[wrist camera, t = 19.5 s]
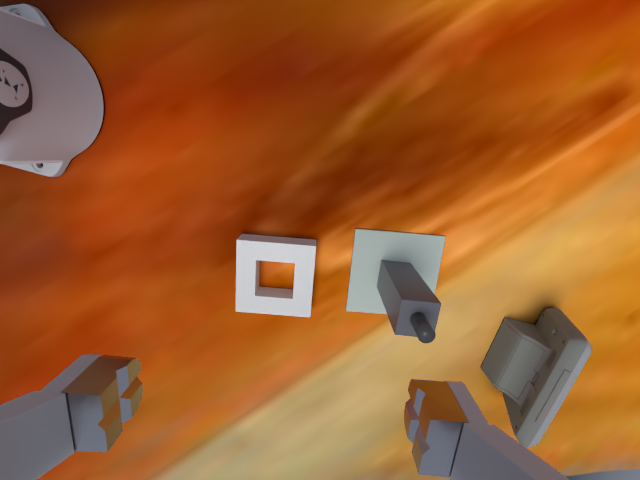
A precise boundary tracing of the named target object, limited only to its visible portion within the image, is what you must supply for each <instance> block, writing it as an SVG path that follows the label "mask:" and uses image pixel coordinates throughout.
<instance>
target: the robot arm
mask: <svg viewBox="0 0 640 480" xmlns="http://www.w3.org/2000/svg"><path fill="white" fill-rule="evenodd" d="M103 112H104V105H103V96H102V91H101V88H100V85H99V82H98V79H97V77H96V75H95V73H94V71H93V69H92V67H91V66H90V64H89V63H88V61H87V60H86V59H85V58H84V56H83V55H82V54H81V53H80V52H79V51H78V50H77V49H76V48H75V47H74V46H73V45H71V44H70V43H69V42H68V41H66V40H65V39H64V38H62V37H61V36H60V35H59V34H58V33H57V32H56V31H55V30H54V29H53V27H52V26H51V24H50V23H49V21H48V20H47V18H46V17H45V15H44V14H43V13H42V12H41V11H40V10H39V9H38V8H36V7H34V6H31V5H28V4H17V5H10V6H3V7H0V164H4V165H8V166H11V167H15V168H19V169H22V170H26V171H30V172H33V173H37V174H41V175H44V176H49V177H58V176H60V175H62V174H63V173H64V171H65V170H66V168H67V166H68V164H69V162H70V161H71V159H72V158H74V157H75V156H76V155H78V154H79V153H81V152H82V151H84V150H85V149H87V148H88V147H89V146H90V145H91V144H92V142H93V141H94V140H95V138H96V136H97V135H98V133H99V130H100V128H101V124H102V120H103ZM41 163H43V167H42V166H41ZM140 371H141V364H140V360H138V359H137V358H130V357H120V356H109V355H97V354H84V355H81V356H80V357H79V358H78V359H77V360H76V361H74V362H73V363H72V364H71V365H70V366H69V367H67V368H66V369H65V370H64V371H63V372H62V373H60V374H59V375H58V376H57V377H56V378H55V379H53V380H52V381H51V382H50V383H49V384H48V385H46V386H45V387H44V388H43V389H42V390H41V391H33V392H30V393H28V394H26V395H23V396H21V397H18V398H16V399H14V400H11V401H9V402H6V403H4V404H2V405H0V480H36V479H38V478H39V477H41V476H42V475H43V474H45V473H46V472H48V471H49V470H51V469H52V468H53V467H55V466H56V465H58V464H59V463H60V462H62V461H63V460H65V459H66V458H68V457H69V456H70V455H72V454H73V453H74V451H94V452H108V451H109V449H110V448H111V447H112V445H113V444H114V442H115V441H116V440H117V438H118V437H119V435H120V434H121V432H122V431H123V430H122V423H124V422H126V421H127V420H129V419H131V418H132V417H133V415H134V414H135V412H136V411H137V409H138V407H139V404H140V402H141V399H142V392H143V386H142V382H141V381H140V380H139V379H138V377H137V375H138V374H139V373H140ZM408 392H409V395H410V399H409V400H408V401H407V402H406V404H405V411H404V423H405V429H406V433H407V437H408V439H409V440H410V441H411V442H412V443H413V448H412V454H413V457H414V461H415V464H416V467H417V471H418V474H421V475H431V476H440V477H450V480H569V479H568V478H567V477H565V476H564V475H563V474H561V473H560V472H558V471H557V470H556V469H554V468H553V467H551V466H550V465H549V464H547V463H546V462H545V461H543V460H542V459H540V458H539V457H538V456H536V455H535V454H534V453H532V452H531V451H529V450H528V449H527V448H525V447H524V446H522V445H521V444H520V443H518V442H517V441H516V440H514V439H513V438H511V437H510V436H509V435H507V434H506V433H504V432H503V431H502V430H500V429H499V428H498V427H496V426H495V425H489V424H488V422H487V421H486V419H485V417H484V416H483V414H482V412H481V411H480V409H479V407H478V406H477V404H476V402H475V401H474V399H473V397H472V396H471V394H470V393H469V391H468V389H467V388H466V386H465V384H464V383H462V382H455V381H444V382H443V381H430V380H415V379H411V381H410V383H409V388H408Z"/></svg>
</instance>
